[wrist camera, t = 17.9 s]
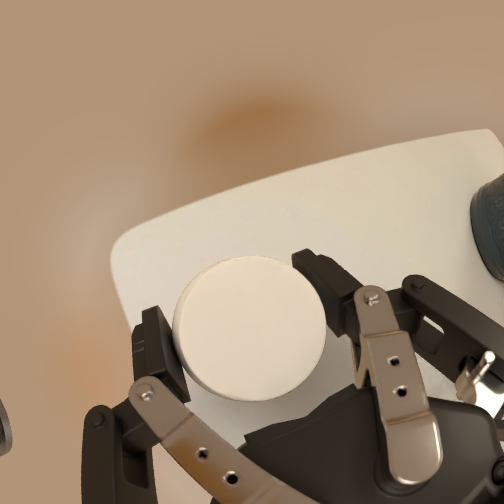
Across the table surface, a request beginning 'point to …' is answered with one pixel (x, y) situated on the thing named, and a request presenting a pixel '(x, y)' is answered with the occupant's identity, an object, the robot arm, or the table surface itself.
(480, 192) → the canister
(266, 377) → the pill bottle
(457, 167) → the table surface
